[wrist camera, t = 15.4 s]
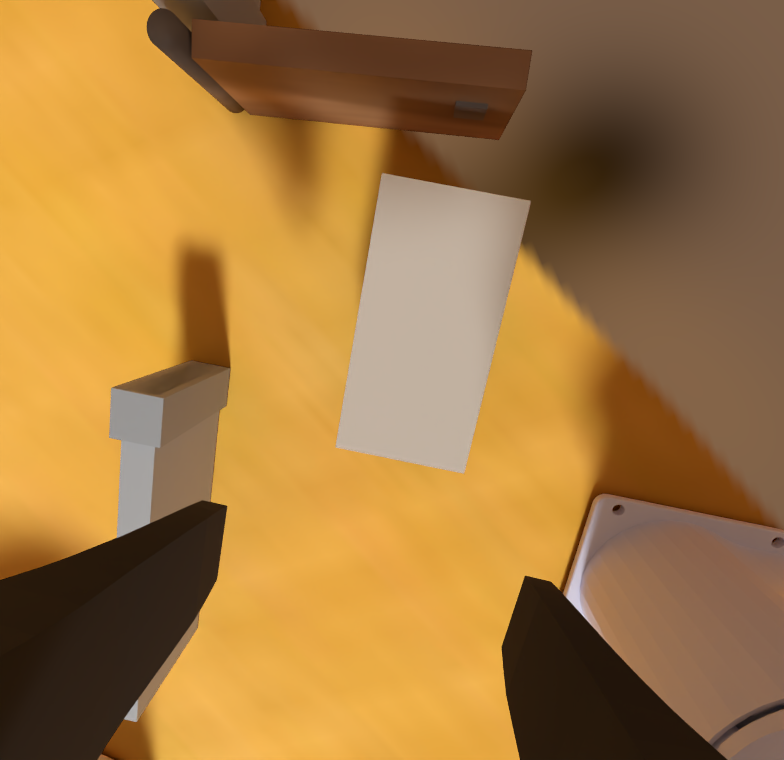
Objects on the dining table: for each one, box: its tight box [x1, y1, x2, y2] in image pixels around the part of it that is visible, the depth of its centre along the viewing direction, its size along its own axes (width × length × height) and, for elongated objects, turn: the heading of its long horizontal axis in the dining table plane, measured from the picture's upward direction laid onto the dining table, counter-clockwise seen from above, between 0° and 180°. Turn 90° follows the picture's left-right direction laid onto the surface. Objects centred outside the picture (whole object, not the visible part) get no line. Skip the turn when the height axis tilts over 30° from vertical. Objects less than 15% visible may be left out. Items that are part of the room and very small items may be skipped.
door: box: [147, 8, 532, 140], centre depth 15 cm, size 1×11×5 cm, turn 84°
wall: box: [109, 0, 266, 722], centre depth 17 cm, size 2×30×5 cm, turn 169°
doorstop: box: [336, 173, 531, 473], centre depth 16 cm, size 4×8×6 cm, turn 169°
